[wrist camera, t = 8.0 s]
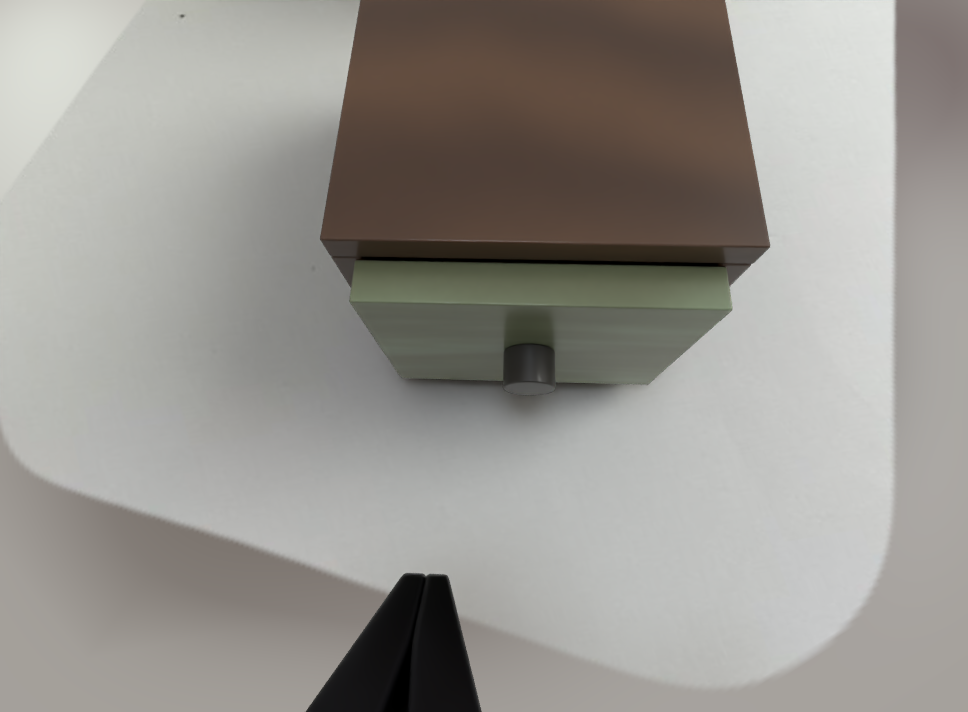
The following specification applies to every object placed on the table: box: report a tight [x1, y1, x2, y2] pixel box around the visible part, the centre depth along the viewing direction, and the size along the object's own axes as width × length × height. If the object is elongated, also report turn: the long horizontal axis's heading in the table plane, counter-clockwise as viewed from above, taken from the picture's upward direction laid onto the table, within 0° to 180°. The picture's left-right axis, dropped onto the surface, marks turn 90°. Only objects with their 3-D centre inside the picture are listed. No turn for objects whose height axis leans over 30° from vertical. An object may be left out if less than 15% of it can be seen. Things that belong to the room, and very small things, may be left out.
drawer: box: [349, 257, 732, 395], centre depth 17 cm, size 14×9×7 cm
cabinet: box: [320, 0, 770, 287], centre depth 17 cm, size 14×11×9 cm
